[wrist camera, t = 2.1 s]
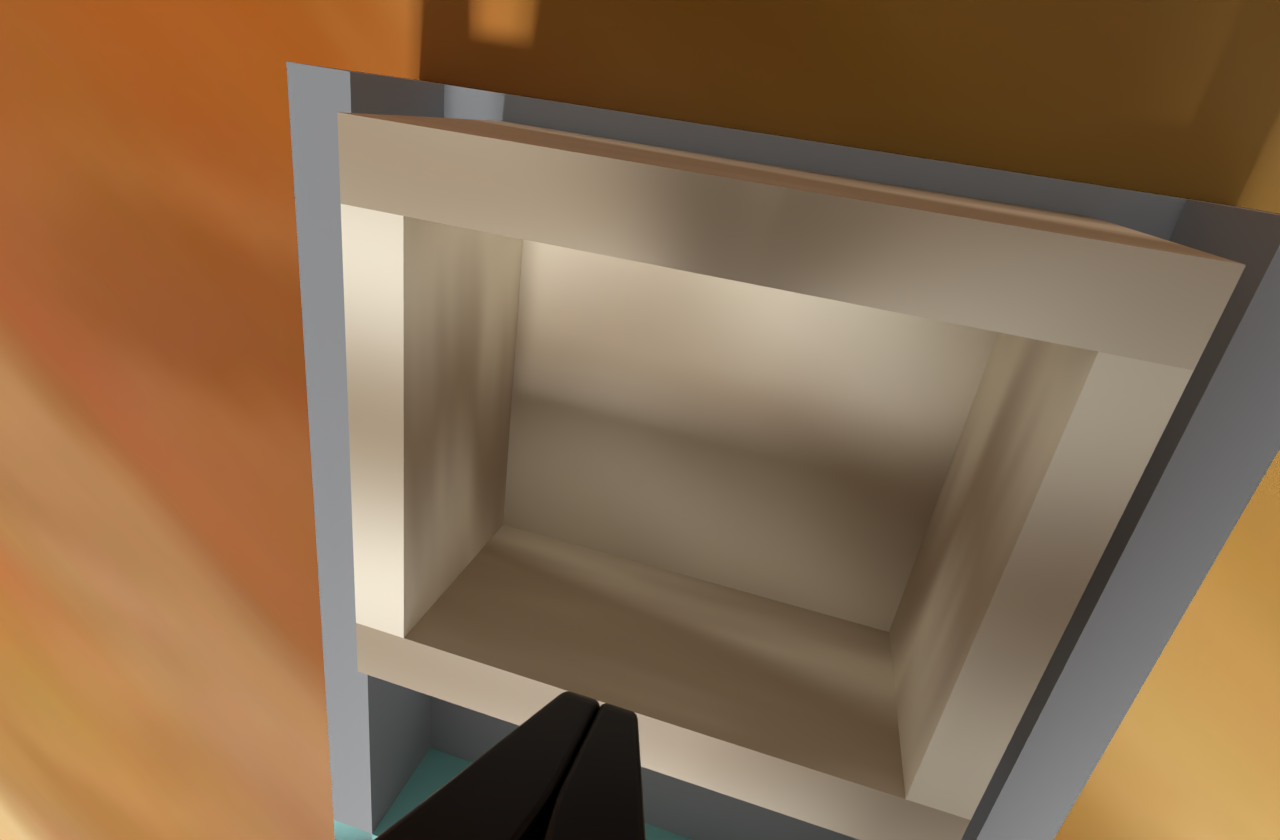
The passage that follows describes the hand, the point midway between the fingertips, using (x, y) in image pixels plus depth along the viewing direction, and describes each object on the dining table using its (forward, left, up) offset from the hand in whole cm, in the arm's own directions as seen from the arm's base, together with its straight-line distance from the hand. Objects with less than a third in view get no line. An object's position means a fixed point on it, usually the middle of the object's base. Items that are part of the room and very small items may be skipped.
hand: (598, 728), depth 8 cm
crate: (+1, 0, -8) cm, 8 cm away
